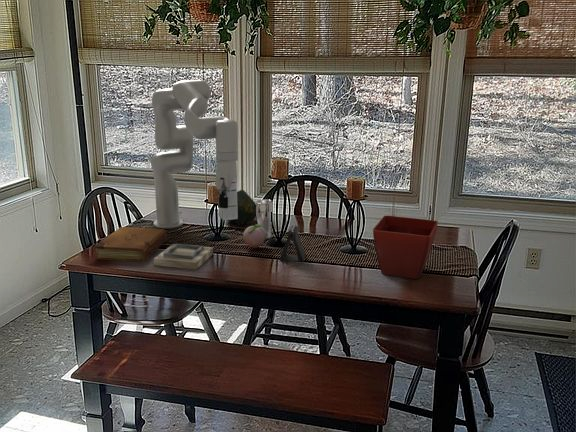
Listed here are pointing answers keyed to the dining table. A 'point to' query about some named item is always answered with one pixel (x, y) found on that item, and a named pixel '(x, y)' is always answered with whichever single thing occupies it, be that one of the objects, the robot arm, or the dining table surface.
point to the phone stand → (298, 246)
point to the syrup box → (230, 203)
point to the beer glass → (264, 215)
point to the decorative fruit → (254, 235)
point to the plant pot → (403, 245)
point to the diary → (131, 244)
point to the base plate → (183, 256)
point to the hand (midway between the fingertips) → (227, 204)
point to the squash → (244, 209)
